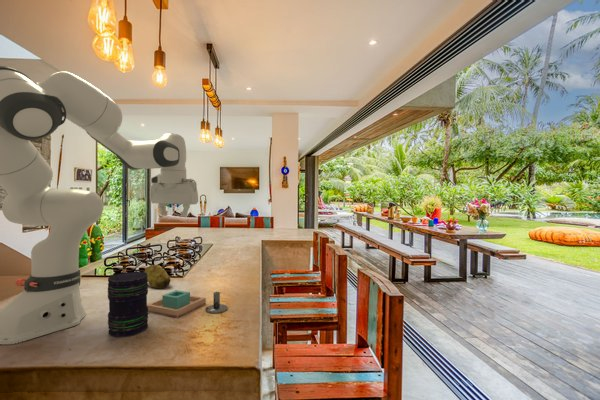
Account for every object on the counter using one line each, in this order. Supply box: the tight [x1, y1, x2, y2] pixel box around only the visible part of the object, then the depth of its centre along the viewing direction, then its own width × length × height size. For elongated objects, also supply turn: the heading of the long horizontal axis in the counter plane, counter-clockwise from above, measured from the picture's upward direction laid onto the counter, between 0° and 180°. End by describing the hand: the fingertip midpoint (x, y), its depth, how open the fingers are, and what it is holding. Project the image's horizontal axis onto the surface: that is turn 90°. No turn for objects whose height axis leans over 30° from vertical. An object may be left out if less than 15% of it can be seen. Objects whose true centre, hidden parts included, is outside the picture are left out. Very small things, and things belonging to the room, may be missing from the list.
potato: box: [144, 264, 171, 289], centre depth 128 cm, size 8×13×8 cm, turn 36°
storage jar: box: [107, 271, 149, 338], centre depth 88 cm, size 10×10×15 cm
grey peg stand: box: [205, 291, 229, 314], centre depth 103 cm, size 7×7×6 cm
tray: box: [147, 294, 207, 319], centre depth 105 cm, size 13×13×2 cm
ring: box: [161, 290, 191, 309], centre depth 105 cm, size 6×6×4 cm
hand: (173, 216), depth 117 cm, fingers open, 8 cm apart
